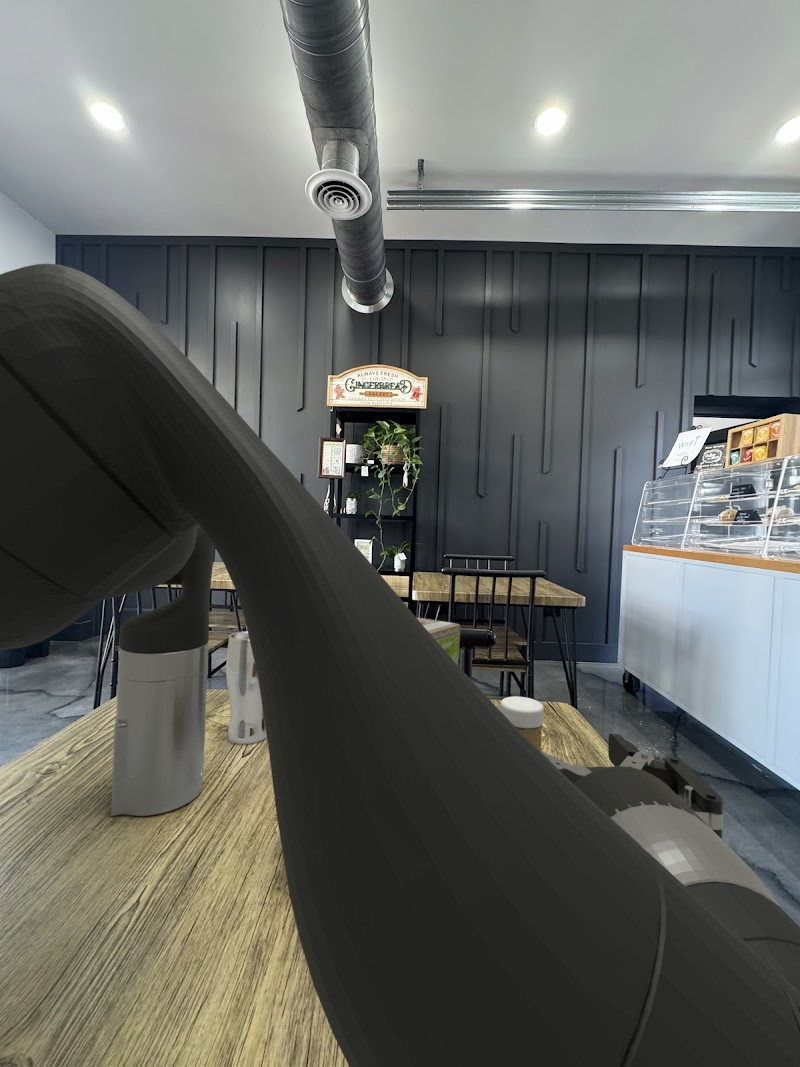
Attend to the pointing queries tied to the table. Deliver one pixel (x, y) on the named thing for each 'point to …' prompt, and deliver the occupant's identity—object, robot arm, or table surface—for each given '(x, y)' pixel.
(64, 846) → the table surface
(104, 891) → the table surface
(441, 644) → the tea box
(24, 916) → the table surface
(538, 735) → the sprinkles bottle
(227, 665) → the beer glass
